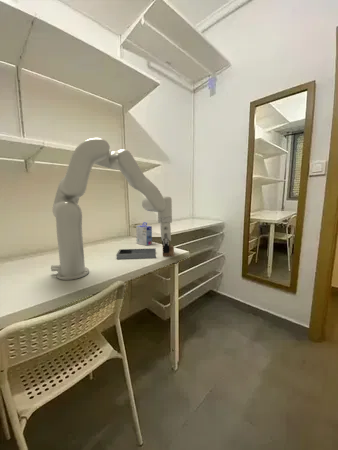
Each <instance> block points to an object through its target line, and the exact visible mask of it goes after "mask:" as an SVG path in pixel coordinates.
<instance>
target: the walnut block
mask: <svg viewBox="0 0 338 450" xmlns="http://www.w3.org/2000/svg"><path fill="white" fill-rule="evenodd" d="M163 246H164V245H163ZM162 257H175V247H174V245H173V244H169V253H163V252H162Z"/></svg>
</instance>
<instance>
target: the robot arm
mask: <svg viewBox="0 0 338 450" xmlns="http://www.w3.org/2000/svg"><path fill="white" fill-rule="evenodd" d="M94 165H99V166H101V167H105V168H108V169H111V170H112V169H113V170H118V171H120V172H121V174H122V176H123V177H124V178H125V180H126V182H127V183H128V184H129V186H130V187H131V188H133V189H135V190H136V191H138V192H140V193H141V194H142V195H144V198H143V200H142V202H141V206H142V208H143V209H144V210H145V211H147V212H154V213H157V223H158V224H160V236H161V242H162V254H163V253H169V245H170V243H169V242H171V241H172V236H171V235H172V231H171V223H173V206H172V205H173V204H172V202H173V201H172V197H171V196H163V195H162V193H161V191H160V190H159V188H158V187H157V186H156V184H155V183H153V182H152V181H151V180H150V179H149V178H148V177H147V176H146V175H145V174H144V173H143V171H142V169H141V168H140V166H139V164H138V162H137V161H136V159H135V157H134V156H133V154H132V153H131V152H130V151H129V150H128V149H126V148H122V149H118V150H116V151H114V150H111V147H110V143H109V142H108V141H107V140H105V139H104V138H100V137H92V138H88V139H86V140H84V141H83V142H81V143H80V144H78V145H77V147H76V148H75V149H74V151H73V153H72V155H71V157H70V161H69V163H68V165H67V166H68V167H67V169H66V172H65V176H64V177H63V178H61V180H60V181H59V183H58V186H57V189H56V193H55V198H54V199H53V200H54V201H53V205H52V214H53V216H54V217H55V221H56V223H55V224H56V239H57V247H58V248H57V249H58V258H59V259H58V260H59V264H57V265H55V264H53V265H51V266H50V271H51V272H57V273H56V277H57V279H58V280H63V281H70V280H71V281H72V280H76V279H79V278H80V279H81V278H83V277H85V276H87V275H89V272H90V269H89V268H88V267H86V265H85V254H84V252H85V250H84V241H83V238H84V237H83V212H82V209H81V207H80V205H79V200H80V198H81V197H83V196H84V195H85V193H86V191H87V186H88V182H89V179H90V176H91V175H90V174H91V172H92V169H93V166H94ZM163 245H164V246H163Z"/></svg>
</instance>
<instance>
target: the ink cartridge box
mask: <svg viewBox="0 0 338 450" xmlns="http://www.w3.org/2000/svg"><path fill="white" fill-rule="evenodd" d="M135 227H136V228H135V229H136V232H135V233H136V235H135V236H136V244H138V245H142V246H151V245H153V233H152V232H153V231H152V230H153V229H152V228H153V227H152V226H150V225H148V222H145V221H143V222H142V224H141V225H137V226H135Z"/></svg>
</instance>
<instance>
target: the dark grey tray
mask: <svg viewBox="0 0 338 450" xmlns="http://www.w3.org/2000/svg"><path fill="white" fill-rule="evenodd" d="M156 254H157V248H155V247H153V248H127V249H126V248H125V249H118V251H117V252H116V255H115V256H116V259H117V260H130V259H131V260H132V259H133V260H134V259H135V260H137V259H156V258H157V255H156Z"/></svg>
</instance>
